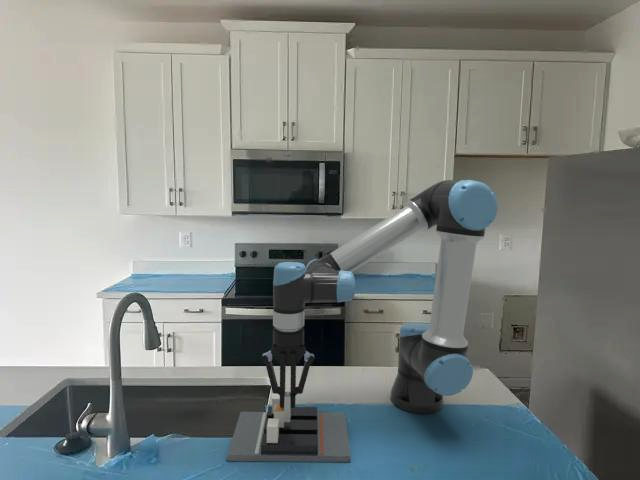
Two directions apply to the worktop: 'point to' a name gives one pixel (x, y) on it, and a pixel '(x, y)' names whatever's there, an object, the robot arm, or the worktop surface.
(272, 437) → the handle
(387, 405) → the worktop surface
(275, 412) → the handle
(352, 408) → the worktop surface
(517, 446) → the worktop surface
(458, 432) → the worktop surface
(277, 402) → the handle
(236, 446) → the panel
